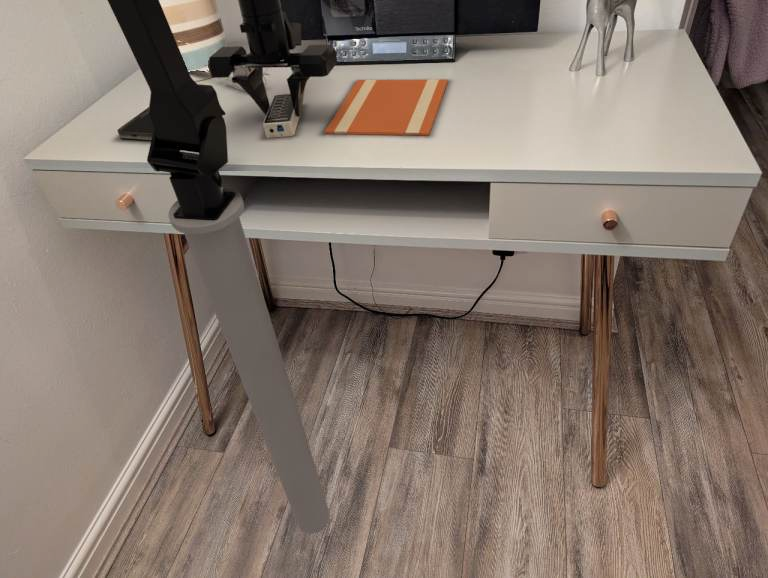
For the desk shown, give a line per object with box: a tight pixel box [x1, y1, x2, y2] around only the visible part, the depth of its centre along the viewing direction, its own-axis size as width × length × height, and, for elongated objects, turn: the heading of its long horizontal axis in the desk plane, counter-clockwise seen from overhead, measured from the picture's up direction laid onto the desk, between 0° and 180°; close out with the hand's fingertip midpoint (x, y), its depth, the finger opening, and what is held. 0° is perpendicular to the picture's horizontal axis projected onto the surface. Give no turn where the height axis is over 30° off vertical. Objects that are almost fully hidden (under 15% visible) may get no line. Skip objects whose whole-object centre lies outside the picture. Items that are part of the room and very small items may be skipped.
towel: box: [324, 78, 449, 136], centre depth 93 cm, size 20×16×1 cm
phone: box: [117, 106, 154, 142], centre depth 97 cm, size 8×1×15 cm
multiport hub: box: [262, 93, 301, 139], centre depth 92 cm, size 4×11×2 cm, turn 179°
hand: (283, 115), depth 92 cm, fingers closed on multiport hub, 5 cm apart
